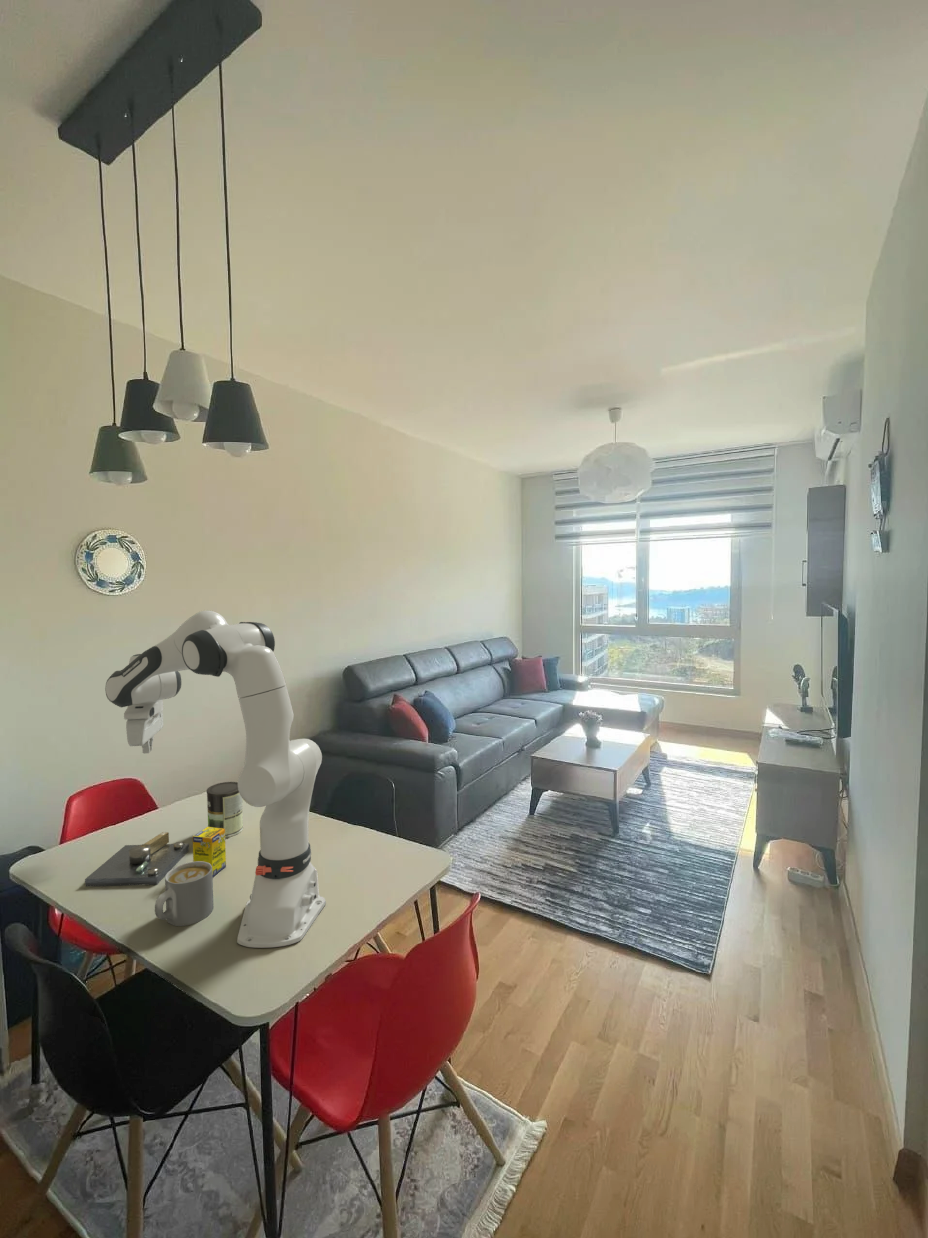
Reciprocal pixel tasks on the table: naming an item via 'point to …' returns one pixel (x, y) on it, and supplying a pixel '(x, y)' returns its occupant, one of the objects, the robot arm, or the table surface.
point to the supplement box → (210, 848)
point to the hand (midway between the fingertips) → (147, 752)
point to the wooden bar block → (147, 848)
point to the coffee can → (225, 808)
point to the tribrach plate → (137, 867)
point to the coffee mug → (187, 894)
